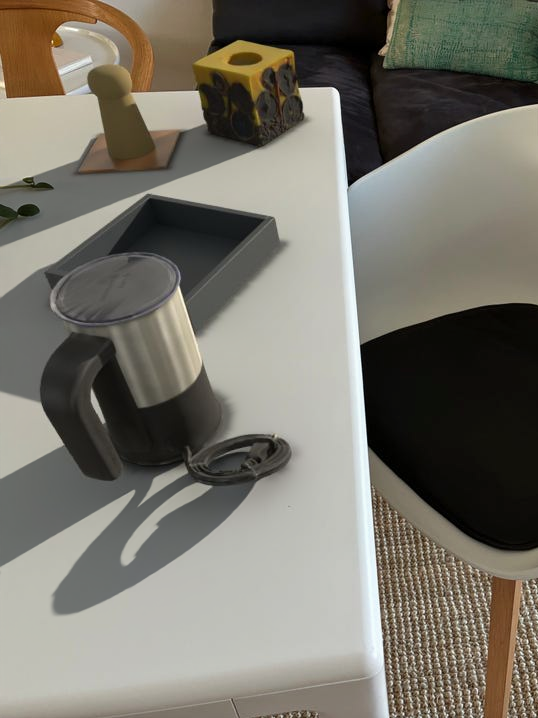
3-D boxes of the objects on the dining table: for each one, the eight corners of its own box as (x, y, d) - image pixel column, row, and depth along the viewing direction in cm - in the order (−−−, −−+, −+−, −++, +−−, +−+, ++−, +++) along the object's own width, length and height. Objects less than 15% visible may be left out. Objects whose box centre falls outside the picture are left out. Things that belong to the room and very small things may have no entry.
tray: (57, 302, 80) (43, 271, 77) (156, 221, 92) (147, 193, 89) (195, 334, 76) (185, 303, 73) (281, 246, 88) (275, 216, 85)
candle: (252, 106, 116) (238, 38, 110) (307, 119, 113) (296, 49, 106) (205, 133, 110) (187, 62, 103) (262, 148, 106) (248, 75, 100)
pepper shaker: (123, 163, 102) (95, 80, 95) (99, 150, 105) (70, 68, 98) (163, 147, 105) (139, 66, 98) (139, 135, 108) (114, 55, 101)
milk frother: (128, 391, 70) (70, 252, 60) (305, 382, 71) (276, 243, 61) (79, 520, 59) (-2, 376, 49) (288, 507, 60) (249, 363, 50)
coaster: (78, 173, 101) (77, 170, 101) (100, 136, 109) (99, 133, 109) (165, 168, 102) (165, 166, 101) (180, 132, 110) (180, 129, 110)
